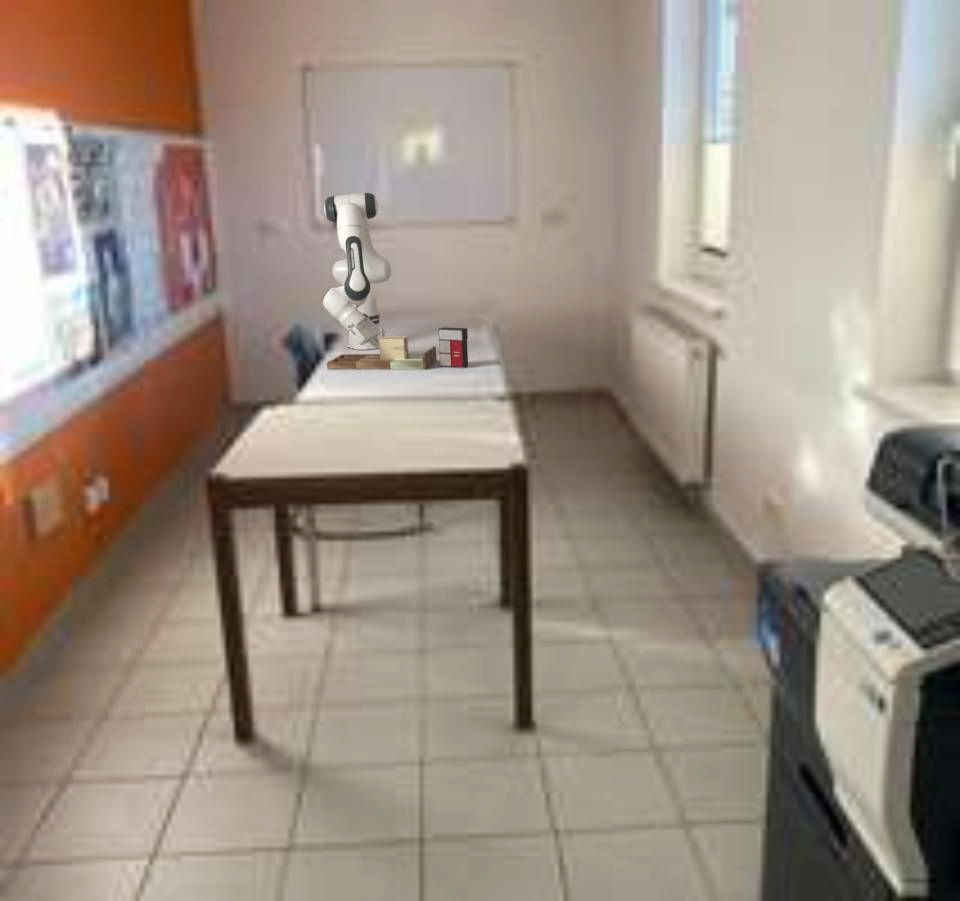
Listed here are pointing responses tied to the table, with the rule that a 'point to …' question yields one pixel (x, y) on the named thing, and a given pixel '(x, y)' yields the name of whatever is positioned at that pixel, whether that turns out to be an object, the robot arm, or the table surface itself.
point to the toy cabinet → (453, 347)
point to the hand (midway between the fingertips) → (380, 347)
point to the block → (393, 348)
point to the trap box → (383, 361)
